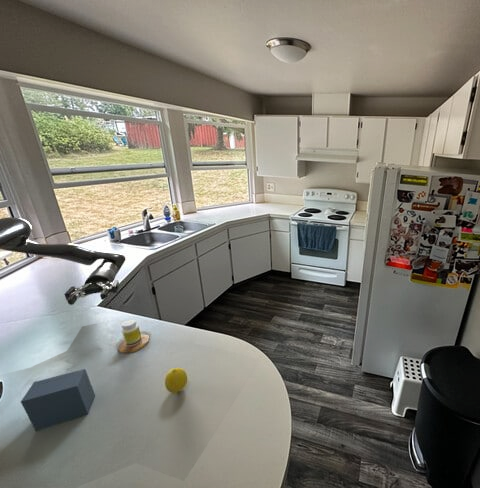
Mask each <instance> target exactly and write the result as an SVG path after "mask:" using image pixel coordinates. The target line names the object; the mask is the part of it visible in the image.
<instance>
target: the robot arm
mask: <svg viewBox="0 0 480 488" xmlns="http://www.w3.org/2000/svg"><path fill="white" fill-rule="evenodd" d="M32 230H33V228H32V225H31V224H30V222H29V221H27V220H26V219H24V218H21V217H14V216H7V217H2V218H0V250H2V251H8V252H14V253H20V254H28V255H33V256H39V257H40V256H42V257H47V258H49V257H50V258H56V259H60V260H65V261H69V262H72V263H75V264H81V265H84V266H92V265H93V264H94V263H96V261H99V260H102V261H101V264H99V266H97V267H96V269H95V270H93V271H92V272H91V273H90V275H88V277H87V278H86V280H85V281H84V284H83V285H81V286H80V287H76V286H71V287H69V289H67V290H66V292H65V293H64V294H63V295H64V297H65V300H66V302H67V304H68V305H69V306H72V305H73V306H74V304H75V303H76V302H77V300H79V299H80V298H83V299H84V298H85V297H88V296H89V295H93V294H99V296H100V300H102V301H103V300H105V299H106V298H108V296H110V295H111V293H113V294H115V293H116V294H117V292H118V291H119V289H120V286H121V285H120V281H119V280H118V279H116V277H117V275H118V273H119V272H120V270H121V269H122V266H124V263H125V262H126V256H125V255H124V254H123V253H120V252H117V251H107V250H101V249H99V250H98V249H94V248H90V247H87V246H84V245H79V244H74V243H42V242H36V241H32V240H30V239H29V238H30V236H31V233H32ZM115 279H116V280H115Z"/></svg>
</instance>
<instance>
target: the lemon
mask: <svg viewBox="0 0 480 488" xmlns="http://www.w3.org/2000/svg"><path fill="white" fill-rule="evenodd" d="M187 383H188V375H187V371H185V369H183V368H182V367H174V368H172V369H170V370H168V372H167V373H166V375H165V377H164V387H165V389H166V390H167V391H168V392H169V393H172V394H176V393H179V392H181V391H183V389H184V388H185V387H186V385H187Z"/></svg>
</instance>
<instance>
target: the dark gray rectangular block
mask: <svg viewBox="0 0 480 488" xmlns="http://www.w3.org/2000/svg"><path fill="white" fill-rule="evenodd" d="M95 397H96V394H95V391H94V389H93V386H92V383H91V381H90V378H89V375H88V372H87V370H86V368H83V369H79V370H75V371H72V372H67V373H64V374H60V375H55V376H52V377H47V378H43V379H41V380H37V381H33V383H32V384H31V385H30V387H29V389H28V391H27V392H26V393H25V394H24V396H23V398H21V400H20V403H21V405H22V407H23V409H24V411H25V414H26V415H27V417H28V419H29V421H30V423H31V425H32V427H33V429H34V431H35V432H37V431H41V430H44V429H46V428H50V427H52V426H56V425H59V424H62V423H65V422H68V421H71V420H74V419H77V418H80V417H84V416H87V415H89V413H90V411H91V409H92V405H93V403H94V401H95Z"/></svg>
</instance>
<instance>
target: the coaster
mask: <svg viewBox="0 0 480 488" xmlns="http://www.w3.org/2000/svg"><path fill="white" fill-rule="evenodd" d="M140 334H141V338H142V340H141V342H140V343H138V344H137V345H134V346H126V344H125V340H124V339H123V340H122V341H121V342H120V343H119V344H118V346H117V350H118V351H119V353H121V354H131V353H135V352H137V351H139V350H142V349H143V348H145V347H146V346H147V345H148V344H149V343H150V336H149V335H148V334H144V333H140Z"/></svg>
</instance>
